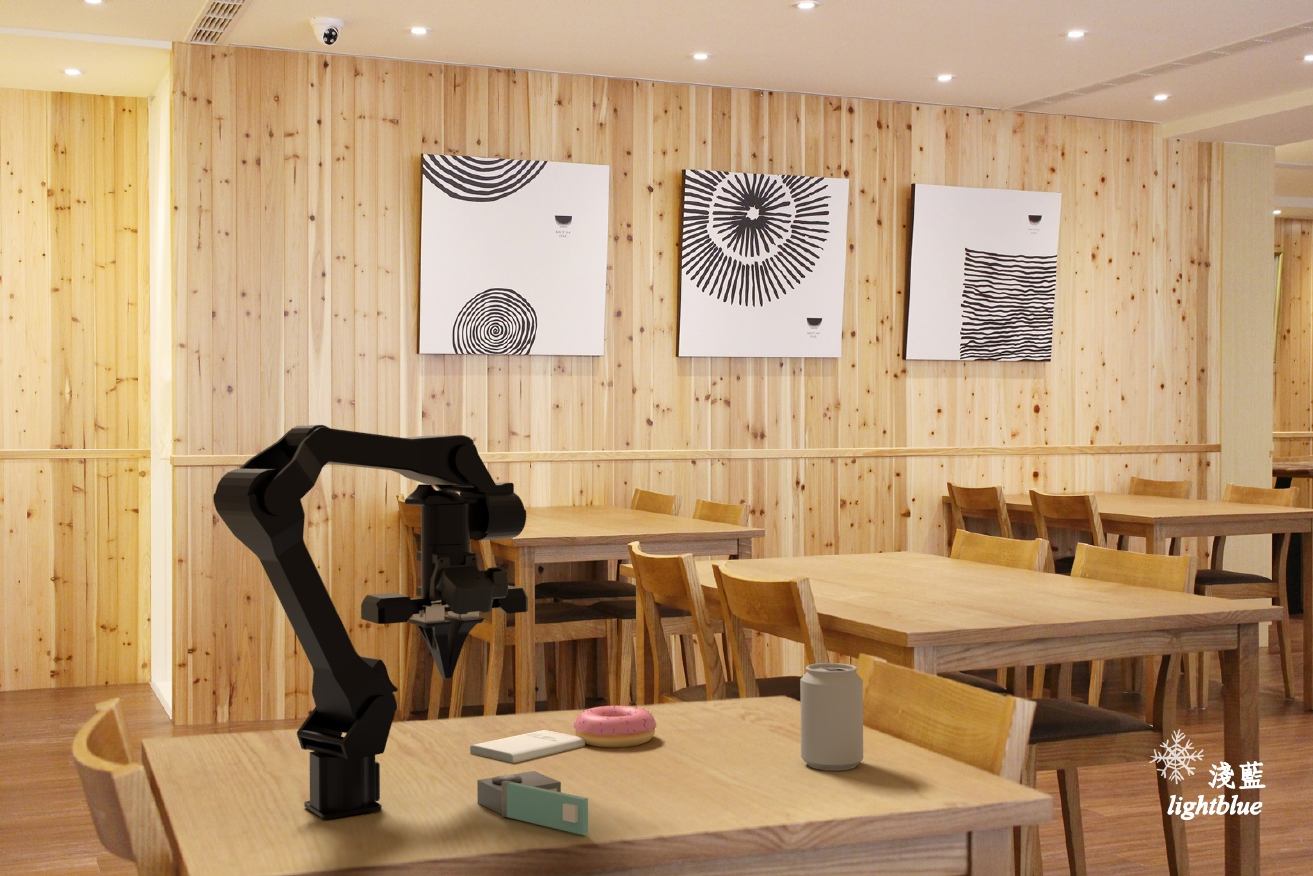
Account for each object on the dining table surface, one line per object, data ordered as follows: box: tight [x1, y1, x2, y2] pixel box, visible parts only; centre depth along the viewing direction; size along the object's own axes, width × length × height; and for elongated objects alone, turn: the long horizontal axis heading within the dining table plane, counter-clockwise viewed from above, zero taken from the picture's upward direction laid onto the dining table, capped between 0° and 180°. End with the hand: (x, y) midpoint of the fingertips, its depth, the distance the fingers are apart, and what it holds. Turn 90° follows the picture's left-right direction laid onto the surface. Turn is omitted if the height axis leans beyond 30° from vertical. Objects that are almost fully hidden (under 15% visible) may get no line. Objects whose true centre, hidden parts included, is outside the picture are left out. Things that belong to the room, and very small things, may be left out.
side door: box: [501, 781, 589, 836], centre depth 136 cm, size 12×1×4 cm, turn 52°
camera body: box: [476, 770, 562, 816], centre depth 145 cm, size 7×6×3 cm
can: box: [799, 662, 864, 772], centre depth 162 cm, size 8×8×12 cm
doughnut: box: [573, 704, 657, 748], centre depth 176 cm, size 11×11×4 cm
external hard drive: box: [469, 729, 586, 764], centre depth 171 cm, size 2×8×12 cm
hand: (446, 678), depth 154 cm, fingers closed
